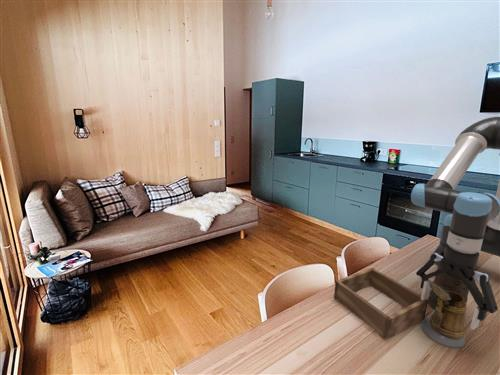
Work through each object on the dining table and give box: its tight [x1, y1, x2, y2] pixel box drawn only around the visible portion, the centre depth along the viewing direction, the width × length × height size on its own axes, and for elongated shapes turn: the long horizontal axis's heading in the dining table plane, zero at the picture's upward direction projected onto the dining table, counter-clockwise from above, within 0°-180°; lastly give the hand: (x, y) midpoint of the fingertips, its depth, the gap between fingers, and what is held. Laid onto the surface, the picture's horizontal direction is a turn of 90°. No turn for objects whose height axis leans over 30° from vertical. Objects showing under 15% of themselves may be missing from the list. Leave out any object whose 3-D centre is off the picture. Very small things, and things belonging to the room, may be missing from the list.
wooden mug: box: [429, 281, 467, 338], centre depth 81 cm, size 9×14×18 cm, turn 110°
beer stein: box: [427, 251, 470, 311], centre depth 94 cm, size 15×11×20 cm
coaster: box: [421, 317, 466, 349], centre depth 83 cm, size 11×11×1 cm
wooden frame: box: [333, 267, 429, 341], centre depth 93 cm, size 19×21×7 cm
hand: (447, 312), depth 81 cm, fingers open, 13 cm apart
